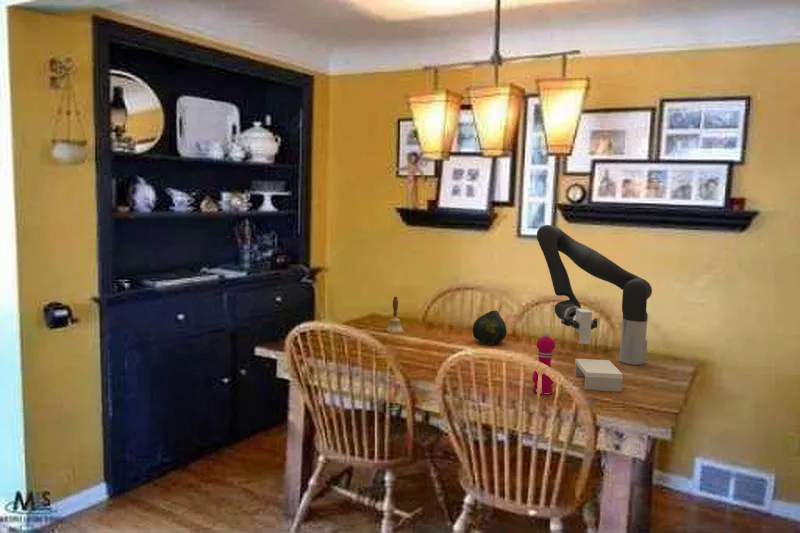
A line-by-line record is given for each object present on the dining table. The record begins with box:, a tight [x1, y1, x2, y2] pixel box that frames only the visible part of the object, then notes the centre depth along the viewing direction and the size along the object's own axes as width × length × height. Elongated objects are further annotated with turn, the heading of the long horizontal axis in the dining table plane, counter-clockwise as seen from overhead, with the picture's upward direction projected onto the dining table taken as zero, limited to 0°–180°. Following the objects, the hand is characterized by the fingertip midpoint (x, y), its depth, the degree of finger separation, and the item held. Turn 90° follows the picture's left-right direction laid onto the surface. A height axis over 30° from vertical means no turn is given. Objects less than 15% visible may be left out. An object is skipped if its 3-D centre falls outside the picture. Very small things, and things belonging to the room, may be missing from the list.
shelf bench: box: [573, 358, 624, 393], centre depth 225 cm, size 12×18×6 cm, turn 176°
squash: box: [471, 310, 507, 346], centre depth 278 cm, size 14×15×15 cm
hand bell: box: [385, 296, 404, 334], centre depth 294 cm, size 8×8×16 cm
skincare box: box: [573, 308, 593, 345], centre depth 237 cm, size 6×4×12 cm
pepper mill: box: [532, 331, 556, 395], centre depth 211 cm, size 7×7×20 cm
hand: (584, 326), depth 234 cm, fingers closed on skincare box, 4 cm apart
